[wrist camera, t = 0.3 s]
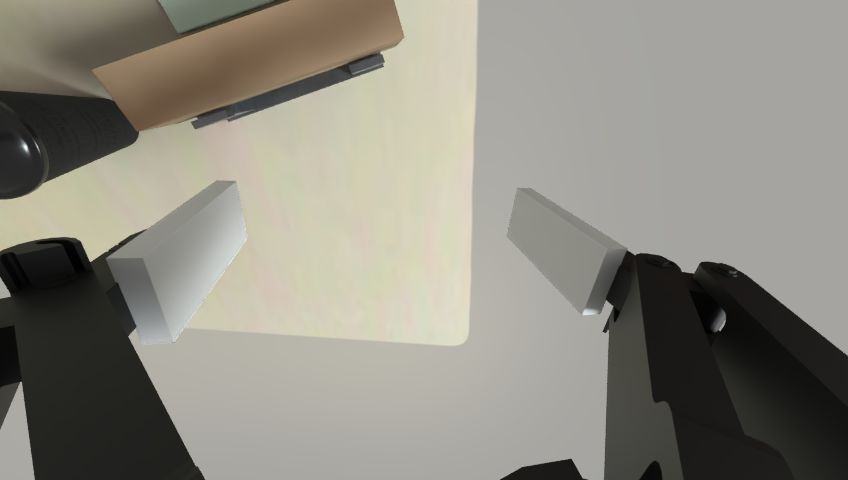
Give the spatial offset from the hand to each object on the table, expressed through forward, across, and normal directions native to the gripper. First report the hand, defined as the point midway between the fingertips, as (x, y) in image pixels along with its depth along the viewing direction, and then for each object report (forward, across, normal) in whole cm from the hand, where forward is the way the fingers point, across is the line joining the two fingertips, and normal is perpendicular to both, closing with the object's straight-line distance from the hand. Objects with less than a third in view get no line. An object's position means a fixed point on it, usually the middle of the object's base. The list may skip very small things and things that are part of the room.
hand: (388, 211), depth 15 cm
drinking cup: (+26, -27, 0) cm, 38 cm away
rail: (+18, -8, +7) cm, 21 cm away
